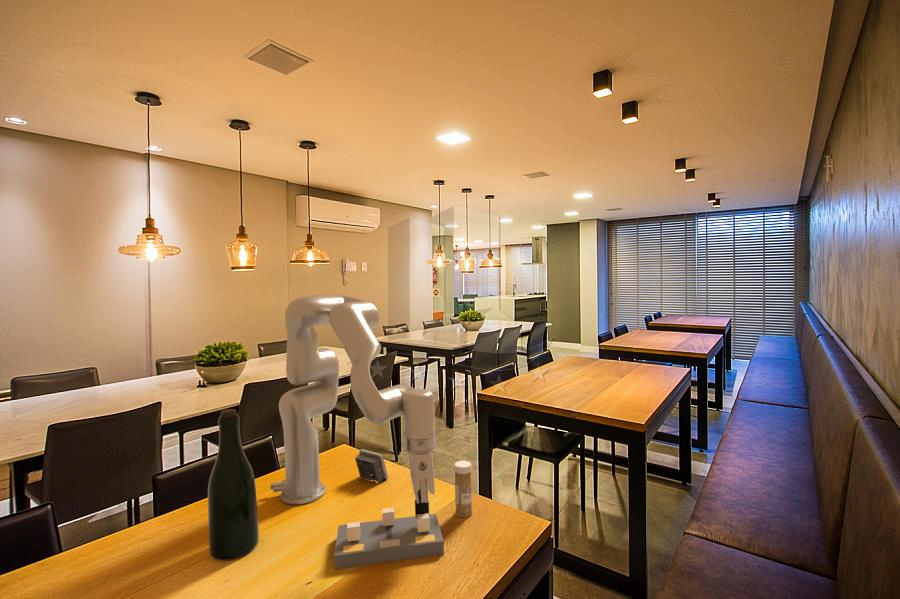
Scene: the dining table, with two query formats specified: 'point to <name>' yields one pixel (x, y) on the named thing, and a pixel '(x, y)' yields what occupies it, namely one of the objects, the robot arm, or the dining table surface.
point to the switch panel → (388, 542)
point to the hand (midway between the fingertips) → (422, 516)
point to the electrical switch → (371, 465)
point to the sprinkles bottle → (463, 488)
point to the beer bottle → (231, 495)
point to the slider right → (423, 522)
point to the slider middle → (388, 516)
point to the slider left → (353, 531)
